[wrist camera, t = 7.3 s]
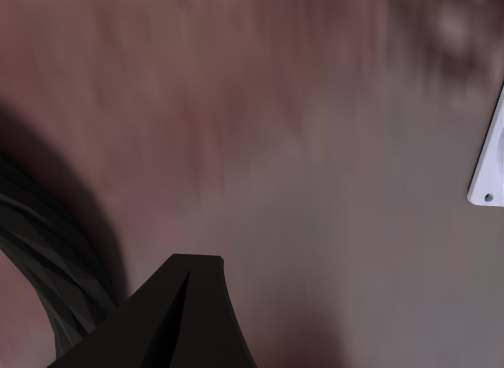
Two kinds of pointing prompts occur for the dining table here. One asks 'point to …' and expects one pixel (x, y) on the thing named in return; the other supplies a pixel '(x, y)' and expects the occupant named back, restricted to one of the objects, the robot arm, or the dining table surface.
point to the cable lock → (53, 257)
